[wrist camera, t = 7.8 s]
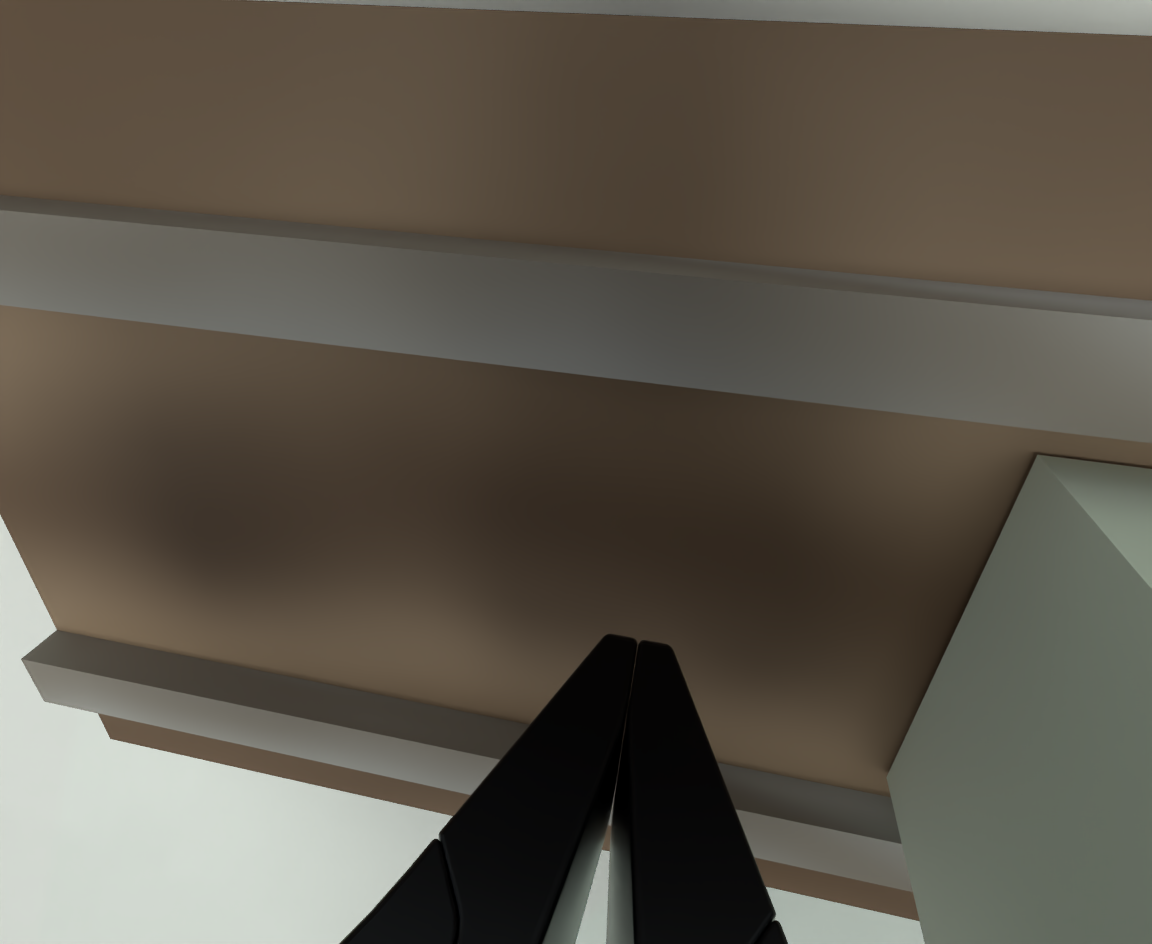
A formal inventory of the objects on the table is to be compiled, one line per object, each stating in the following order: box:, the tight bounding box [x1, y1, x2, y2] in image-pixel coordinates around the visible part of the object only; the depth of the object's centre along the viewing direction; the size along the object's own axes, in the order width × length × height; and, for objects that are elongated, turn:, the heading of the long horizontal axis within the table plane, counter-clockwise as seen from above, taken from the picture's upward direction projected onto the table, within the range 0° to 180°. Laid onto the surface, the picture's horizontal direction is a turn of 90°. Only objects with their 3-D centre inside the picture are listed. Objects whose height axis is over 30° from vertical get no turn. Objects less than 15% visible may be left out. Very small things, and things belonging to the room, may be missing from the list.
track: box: [0, 0, 1152, 921], centre depth 9 cm, size 14×26×6 cm, turn 87°
